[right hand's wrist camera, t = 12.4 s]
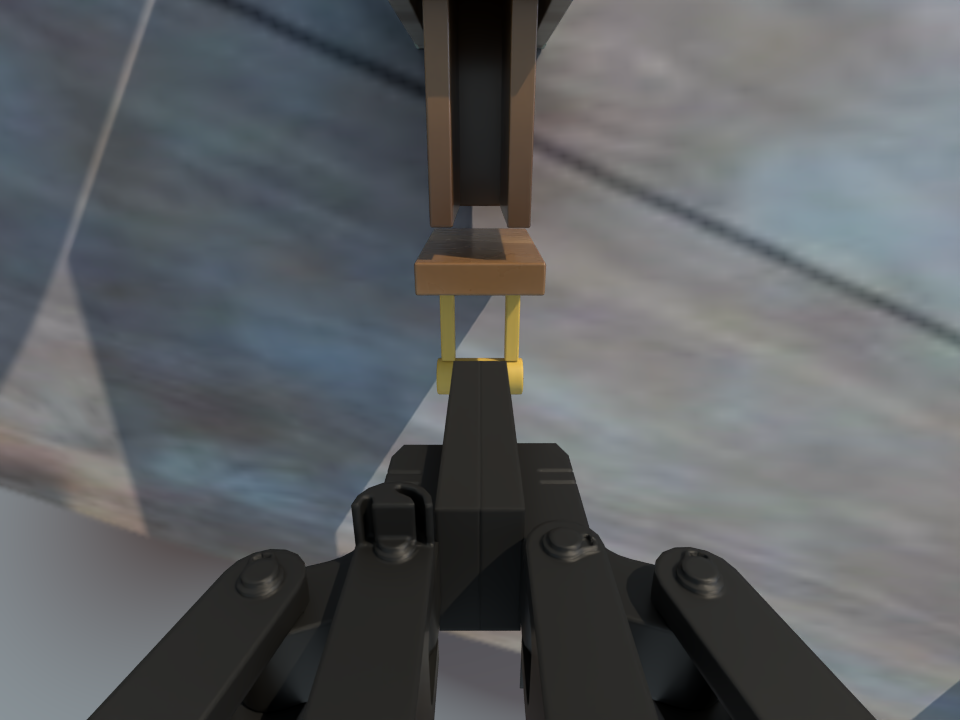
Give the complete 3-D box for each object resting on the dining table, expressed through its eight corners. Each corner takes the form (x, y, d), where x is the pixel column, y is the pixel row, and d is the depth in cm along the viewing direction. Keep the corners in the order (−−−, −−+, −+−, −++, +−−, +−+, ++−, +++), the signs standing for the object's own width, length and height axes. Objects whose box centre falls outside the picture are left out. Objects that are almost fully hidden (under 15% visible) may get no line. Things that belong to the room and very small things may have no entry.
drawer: (522, 349, 29) (538, 427, 21) (437, 349, 29) (421, 427, 21) (542, -269, 20) (586, -561, 12) (418, -269, 20) (375, -561, 12)
